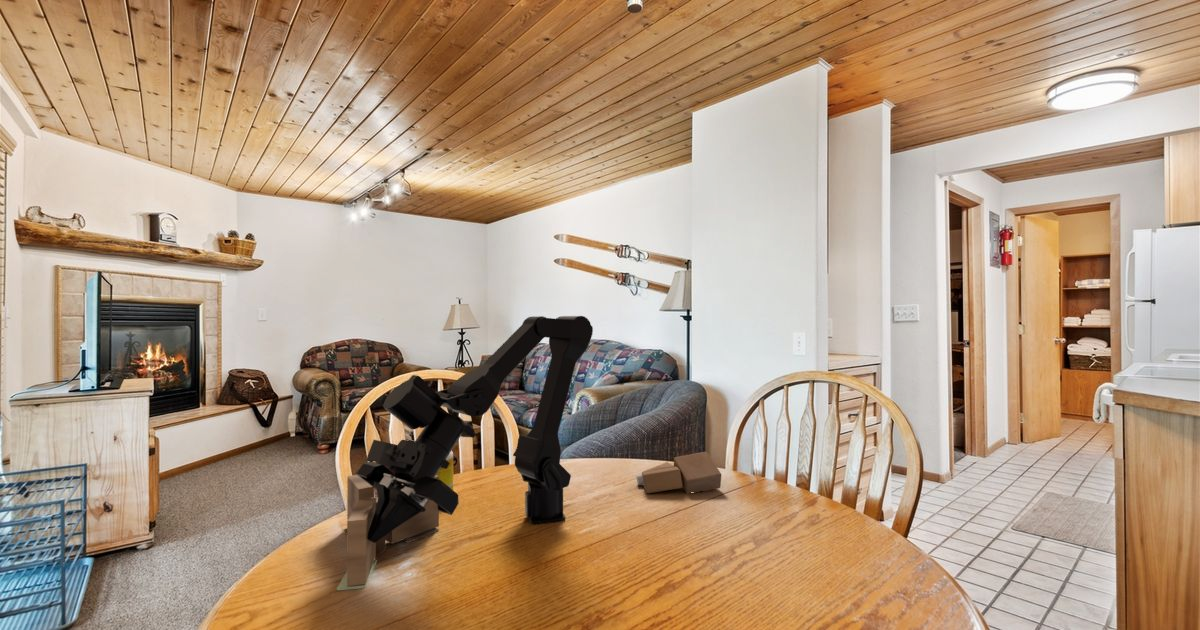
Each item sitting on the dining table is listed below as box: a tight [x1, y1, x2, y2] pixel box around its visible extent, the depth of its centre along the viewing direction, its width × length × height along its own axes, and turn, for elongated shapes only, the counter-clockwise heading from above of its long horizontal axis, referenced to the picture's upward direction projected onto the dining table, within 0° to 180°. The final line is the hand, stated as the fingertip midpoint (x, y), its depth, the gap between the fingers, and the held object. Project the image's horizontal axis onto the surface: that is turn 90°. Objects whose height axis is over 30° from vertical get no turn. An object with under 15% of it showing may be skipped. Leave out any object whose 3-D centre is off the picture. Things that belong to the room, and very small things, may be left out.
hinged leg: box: [346, 498, 377, 586], centre depth 76 cm, size 9×2×9 cm, turn 16°
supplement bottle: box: [436, 450, 454, 491], centre depth 107 cm, size 7×7×13 cm
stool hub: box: [343, 474, 440, 556], centre depth 88 cm, size 16×14×10 cm
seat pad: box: [336, 559, 378, 592], centre depth 75 cm, size 8×4×1 cm, turn 12°
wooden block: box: [635, 451, 722, 494], centre depth 115 cm, size 8×13×18 cm
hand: (370, 540), depth 73 cm, fingers closed
